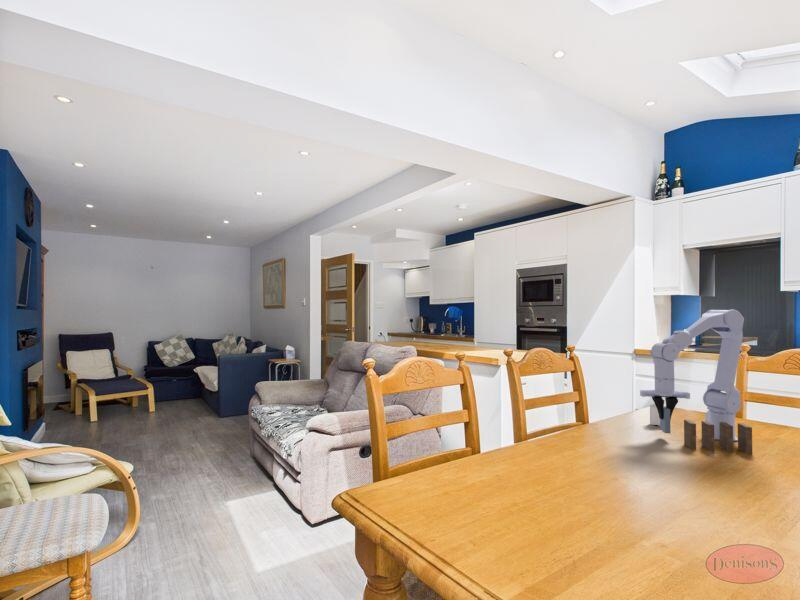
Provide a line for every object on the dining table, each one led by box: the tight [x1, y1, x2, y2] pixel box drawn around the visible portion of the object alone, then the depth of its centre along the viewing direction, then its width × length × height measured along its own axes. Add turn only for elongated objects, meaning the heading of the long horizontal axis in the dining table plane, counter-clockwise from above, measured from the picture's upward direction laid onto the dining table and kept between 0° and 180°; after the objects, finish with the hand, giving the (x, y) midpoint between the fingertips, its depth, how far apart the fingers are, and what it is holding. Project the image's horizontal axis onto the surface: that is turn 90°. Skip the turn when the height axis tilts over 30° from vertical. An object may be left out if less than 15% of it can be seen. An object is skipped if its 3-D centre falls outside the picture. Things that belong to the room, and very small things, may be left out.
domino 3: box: [701, 420, 716, 452], centre depth 136 cm, size 2×5×8 cm, turn 166°
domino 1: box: [659, 406, 671, 434], centre depth 145 cm, size 2×5×8 cm, turn 166°
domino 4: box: [719, 422, 734, 453], centre depth 134 cm, size 2×5×8 cm, turn 166°
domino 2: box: [683, 419, 697, 450], centre depth 137 cm, size 2×5×8 cm, turn 165°
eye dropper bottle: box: [649, 402, 666, 427], centre depth 163 cm, size 4×6×12 cm
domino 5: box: [737, 422, 753, 455], centre depth 133 cm, size 2×5×8 cm, turn 165°
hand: (664, 418), depth 145 cm, fingers closed on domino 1, 1 cm apart
